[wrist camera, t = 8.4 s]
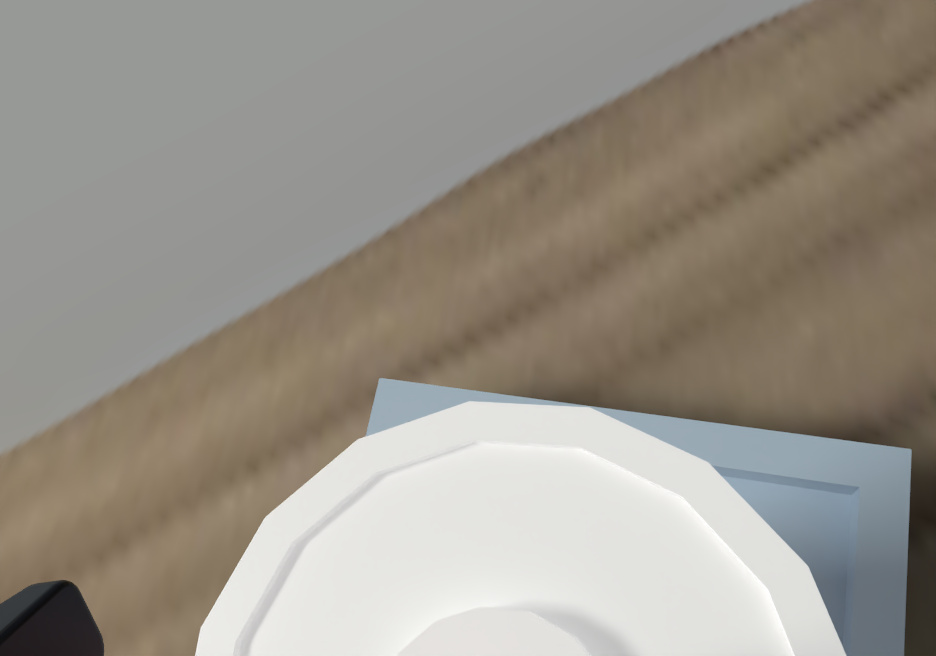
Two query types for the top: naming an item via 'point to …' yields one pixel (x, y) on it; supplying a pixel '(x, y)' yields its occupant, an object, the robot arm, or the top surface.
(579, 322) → the top surface
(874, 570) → the rectangular tray
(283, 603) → the beverage cup
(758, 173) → the top surface
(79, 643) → the robot arm
